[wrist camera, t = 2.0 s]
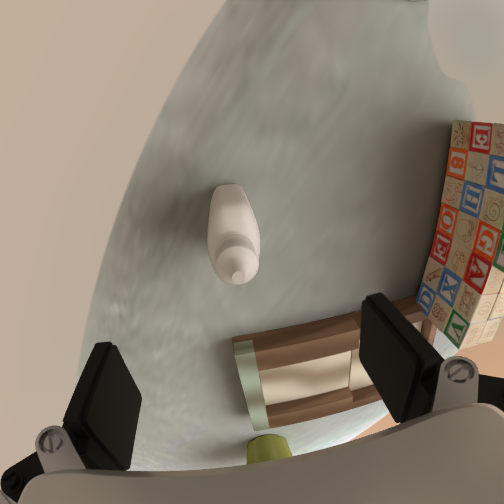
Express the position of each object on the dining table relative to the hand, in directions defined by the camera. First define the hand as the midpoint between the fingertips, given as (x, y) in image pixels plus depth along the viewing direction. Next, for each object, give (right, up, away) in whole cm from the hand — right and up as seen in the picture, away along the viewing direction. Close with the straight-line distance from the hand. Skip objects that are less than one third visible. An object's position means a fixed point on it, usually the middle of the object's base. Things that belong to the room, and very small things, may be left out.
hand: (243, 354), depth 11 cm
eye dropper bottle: (-2, +7, +16) cm, 18 cm away
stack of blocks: (+23, +7, +18) cm, 30 cm away
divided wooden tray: (+11, -10, +24) cm, 28 cm away
